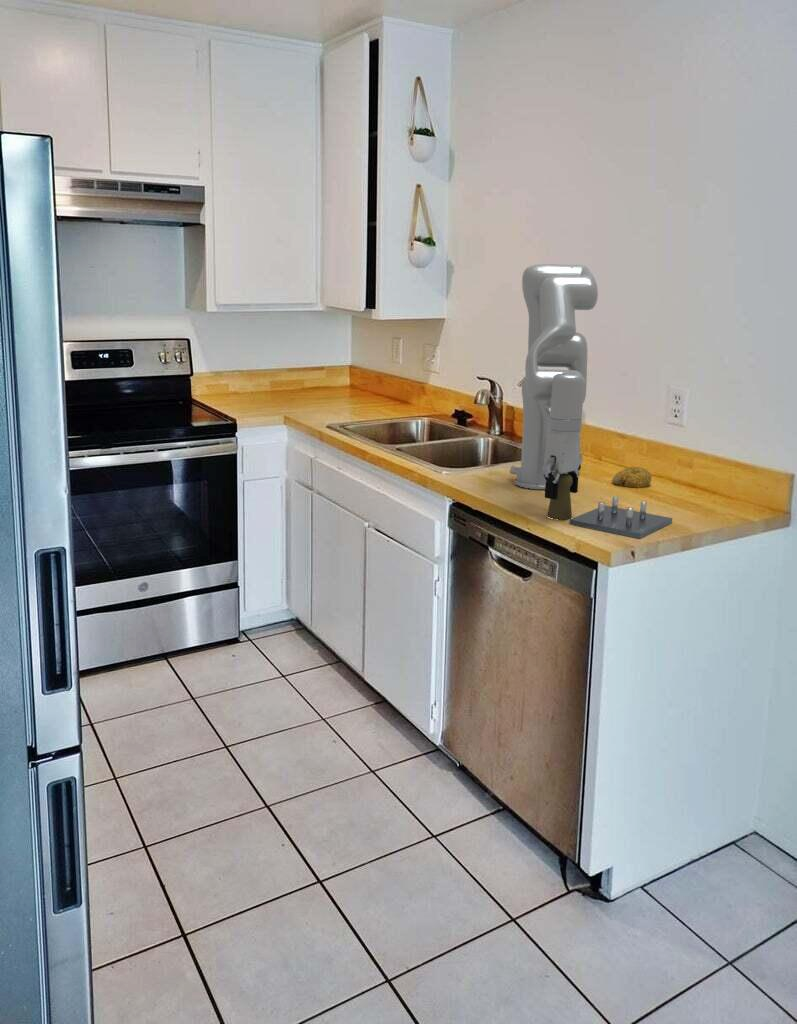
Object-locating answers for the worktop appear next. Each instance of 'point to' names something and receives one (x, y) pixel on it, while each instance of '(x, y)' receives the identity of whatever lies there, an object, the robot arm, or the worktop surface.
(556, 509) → the olive tapered piece
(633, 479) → the bagel
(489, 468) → the worktop surface
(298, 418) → the worktop surface
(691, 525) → the worktop surface
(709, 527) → the worktop surface
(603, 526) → the pin plate
